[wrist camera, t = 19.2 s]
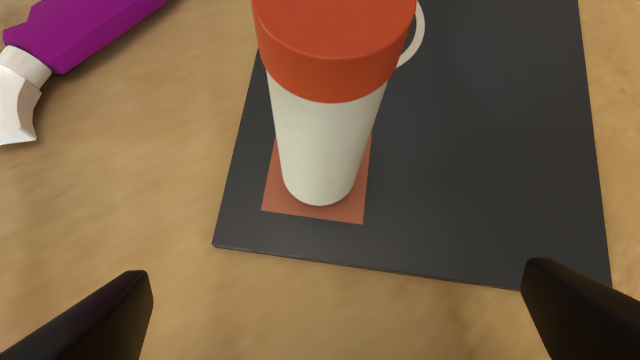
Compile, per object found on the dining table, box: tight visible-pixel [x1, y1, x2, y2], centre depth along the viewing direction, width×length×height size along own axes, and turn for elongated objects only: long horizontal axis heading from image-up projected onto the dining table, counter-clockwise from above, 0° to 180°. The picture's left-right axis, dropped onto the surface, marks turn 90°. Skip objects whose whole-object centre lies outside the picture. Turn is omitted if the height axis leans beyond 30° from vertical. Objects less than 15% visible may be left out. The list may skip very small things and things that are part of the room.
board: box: [212, 0, 612, 291], centre depth 22 cm, size 19×19×1 cm
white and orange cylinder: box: [251, 0, 417, 206], centre depth 15 cm, size 4×4×12 cm
